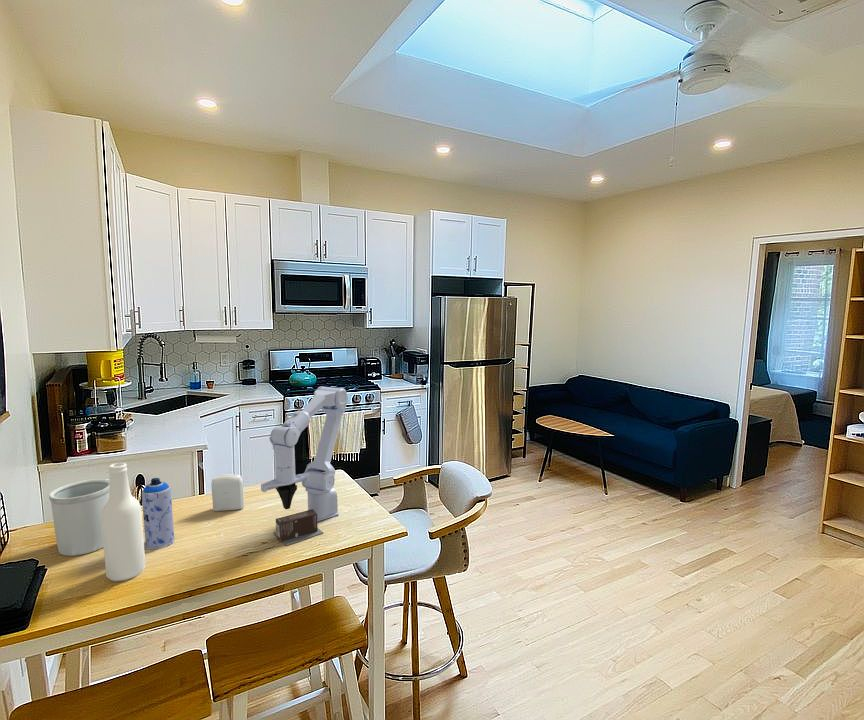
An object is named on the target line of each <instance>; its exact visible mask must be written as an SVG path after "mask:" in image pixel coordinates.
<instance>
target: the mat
mask: <svg viewBox="0 0 864 720" xmlns="http://www.w3.org/2000/svg"><path fill="white" fill-rule="evenodd" d="M273 534H274V535H275V536H276V531H273ZM323 534H324V532H323V530H321V529H320V528H319V527H318V531H316V532H312V533H309V534H305V535H302V536H299V537H295V538H292V539H288V540H285V541H281V542H282V543H283V544H284V545H285V546H286V547H288V546H291V545H293V544H296V543H299V542H303V541H306V540H308V539H312V538H314V537H317V536H321V535H323Z"/></svg>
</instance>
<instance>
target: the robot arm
mask: <svg viewBox="0 0 864 720" xmlns="http://www.w3.org/2000/svg"><path fill="white" fill-rule="evenodd" d="M348 399H349V395H348V393H347V391H346V389H345V388H343V387H329V386H324V385H323V386H319V387H317V389H316V390H315V391H314V392H313V397H312V398H311V399H310V401H309V402H308V403H307V404H306V405H305V406H304V408H303V409H302V410H297V411H296V410H295V411H293V414H292V415H290V416H289V418H287V420H285V421H284V423H282V424H281V425H277V426H275V427H274V428H273V429H272V430H271V432H270V435H269V442H270V443H271V445H272V450H273V451H274V464H275V465H274V466H275V467H274V469H275V478H274V479H271V480H269V481H267V482H264V483H261V484H260V492H262V493H266V492H267V491H271V490H276V491H277V493H278V495H279V497H280V500H281V502H282V506H283V509H284V510H289V509H291V505H292V501H293V498H294V496H295V493H296V491H297V489H298V485H297V483H301V485H302V488H304V489H305V492H307V493H306V494H307V510H311V509H313V510H314V511H315V512H316V513H317V523H318V522H320V521H323V520H327V519H330V518H332V517H336V516H339V514H340V513H339V511H338V505H339V504H338V494H337V493H338V492H337V490H336V488H335V487H334V486H335V480H336V479H335V478H336V477H335V474H336V470H335V468H334V466H333V465H332V464H331V461H332V458H333V454H334V449H335V445H336V441H337V438H338V434H339V430H340V426H341V422H342V419H343V416H344V415H343V414H345V411H346V408H347V403H348ZM320 410H322V411H323V412H324V414H325V415H326V417H325V420H324V424H323V426H322V431H321V436H320V440H319V442H318V443H319V444H318V447H317V450H316V453H315V458H314V460H312V461H311V462H309V463H308V464H306V468H305V471H304V472H303V473H298V474H296V458H295V457H296V456H295V455H296V454H295V453H296V451H295V445H297V443H298V441H299V438H300V436H301V434H302V432H303V431H304V430H305V429H306V428H307V427H308V426H309V425H310V423H311V418H312V417H313V416H314V415H315V414H316V413H317V412H319V411H320Z"/></svg>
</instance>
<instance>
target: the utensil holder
mask: <svg viewBox="0 0 864 720" xmlns="http://www.w3.org/2000/svg"><path fill="white" fill-rule="evenodd" d="M48 499H49V501H50V503H51V510H52V517H53V518H52V519H53V528H54V534H55V541H56V546H57V550H58V553H59V554H60V555H62V556H65V557H67V556H68V557H69V556H70V557H73V556H74V557H75V556H80V555H81V556H82V555H85V554H89V553H90V554H91V553H93V552H95V551H99V550H102V549H104V544H103V533H102V522H101V513H102V509H103V507H104V506H105V504H106V503H107V502H108V500H109V479H105V478H94V479H85V480H80V481H75V482H71V483H68V484H64V485H62V486H60V487H58V488H55V489H54V490H52V491H51V492H49V494H48Z"/></svg>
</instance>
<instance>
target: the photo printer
mask: <svg viewBox="0 0 864 720" xmlns="http://www.w3.org/2000/svg"><path fill="white" fill-rule="evenodd" d="M244 496H245V493H244V481H243V477H242V475H239V474H233V473H226V474H219V475H217V476H214V477H212V479H211V498H212V509H213V511H214V512H221V511H235V510H236V511H237V510H242V509H244V508H245V499H244Z"/></svg>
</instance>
